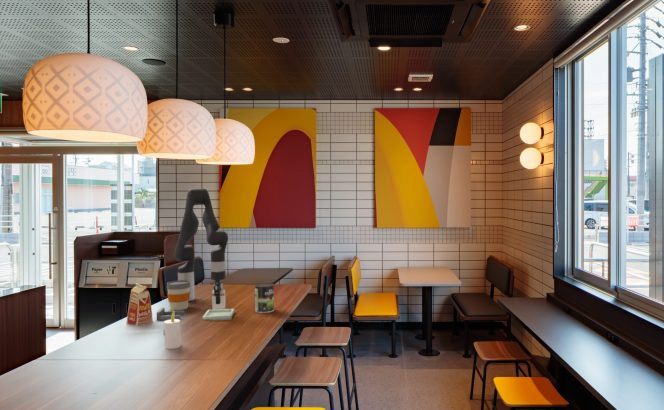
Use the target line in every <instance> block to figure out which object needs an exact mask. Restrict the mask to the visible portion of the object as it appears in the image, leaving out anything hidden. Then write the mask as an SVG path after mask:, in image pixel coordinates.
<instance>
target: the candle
mask: <svg viewBox="0 0 664 410" xmlns="http://www.w3.org/2000/svg"><path fill="white" fill-rule="evenodd" d="M172 311H173V313H172V316H171V319H170V320H166V321H163V326H164V327H163V338H164V349H167V350H174V349H177V348H180V347H181V345H182V344H181V343H182V341H181V339H182V338H181V336H182V335H181V320H179V319H174V317H175V311H176V310H172Z"/></svg>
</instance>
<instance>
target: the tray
mask: <svg viewBox="0 0 664 410" xmlns="http://www.w3.org/2000/svg"><path fill="white" fill-rule="evenodd" d="M234 314H235V308H224V309H207V310H206V312H205V313H204V314H203V315H202V321H206V320H207V321H208V320H209V321H210V322H211V321H212V322H213V321H214V322H215V321H231V320H232V319H233V316H234Z"/></svg>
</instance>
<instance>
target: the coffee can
mask: <svg viewBox="0 0 664 410" xmlns="http://www.w3.org/2000/svg"><path fill="white" fill-rule="evenodd" d="M274 290H275V284H273V283H268V282H267V283H266V282H265V283H263V282H262V283H257V284H254V301H255V302H254V305H255V308H254V309H255V313H258V314H270V313H272V312H274V311H275V298H274V297H275V295H274V294H275V291H274Z"/></svg>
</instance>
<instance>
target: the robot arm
mask: <svg viewBox="0 0 664 410" xmlns="http://www.w3.org/2000/svg"><path fill="white" fill-rule="evenodd" d="M212 204H213V203H212V201H211V197H210V194H209V191H208V190H207V189H206V188H204V187H203V188H190V189H188V190H187V193H186V200H185V207H184V208H185V209H184V212H183V219H182V222H181V225H180V231H179V237H178V240H177V243H176V245H175V249H174V253H173V254H174V259H175V260H176V261H177V262H184V261H185V263H184V264H183V265H180V266H178V268H177V281H178V280H188V281H190V298H189V300H188V302H192V301H194V300H195V248H194V246H193V245H192V244H187V243H189V241H191V240H192V239H193V238H194V237H195V236H196V234H197V232H198V229H199V224H200V222H199V219H198V217H197V215H196V213H195V211H194V208H195V207H194V206H204V211H203V214H202V217H201V220H202V224H203V225H204V228H205V231H206V241H207V244H208V245H210V246H218V247H217V248H216V249H213V250H211V252H210V280H212V281H214V283H213V290H214V296H215V297H216V304H220V296H221V295H220V292H221V290H224V287H223V285H224V281H223V280H225V279H226V276H227V274H226V273H227V272H226V260H225V259H226V251H227V250H226V249H227V245H228V241H229V236H228V233H227V232H226V231H222V230H220V231H219V229H220V224H219V222H218V220H217V218H216V216H215V213H214V209H213V205H212ZM216 293H218V294H216Z"/></svg>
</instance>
